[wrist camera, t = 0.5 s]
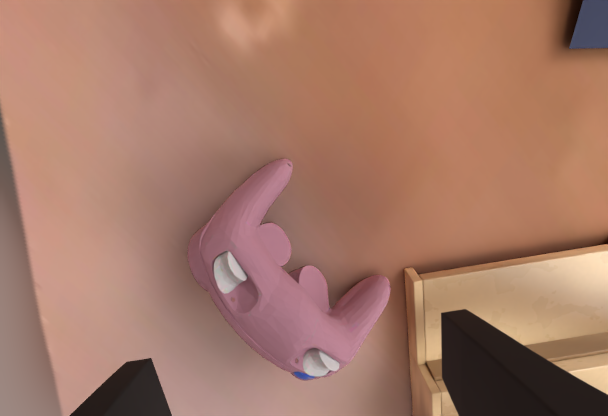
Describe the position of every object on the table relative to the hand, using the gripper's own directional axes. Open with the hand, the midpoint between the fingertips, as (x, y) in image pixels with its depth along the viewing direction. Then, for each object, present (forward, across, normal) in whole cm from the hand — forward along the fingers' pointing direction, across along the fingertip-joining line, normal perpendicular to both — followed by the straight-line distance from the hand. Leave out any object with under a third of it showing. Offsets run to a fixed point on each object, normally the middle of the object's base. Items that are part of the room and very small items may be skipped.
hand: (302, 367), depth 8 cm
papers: (+10, -28, -19) cm, 35 cm away
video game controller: (+10, 0, +2) cm, 10 cm away
